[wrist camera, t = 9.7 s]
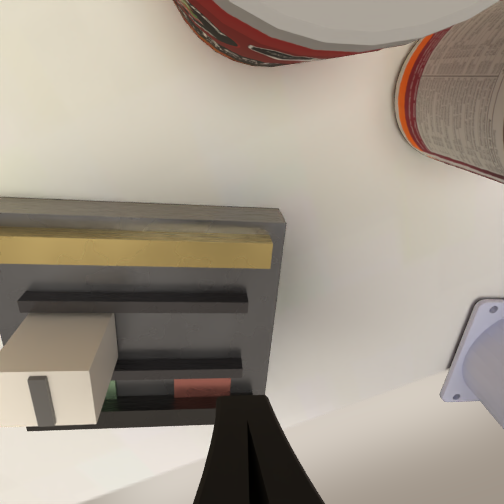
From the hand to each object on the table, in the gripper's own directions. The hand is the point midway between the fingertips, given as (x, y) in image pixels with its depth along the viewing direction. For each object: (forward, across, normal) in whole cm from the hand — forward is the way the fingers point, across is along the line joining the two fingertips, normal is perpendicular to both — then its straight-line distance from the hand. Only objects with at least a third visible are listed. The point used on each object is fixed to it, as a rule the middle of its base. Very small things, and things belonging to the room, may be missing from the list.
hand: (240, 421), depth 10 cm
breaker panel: (+10, +4, +3) cm, 11 cm away
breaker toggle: (+8, +7, +3) cm, 11 cm away
